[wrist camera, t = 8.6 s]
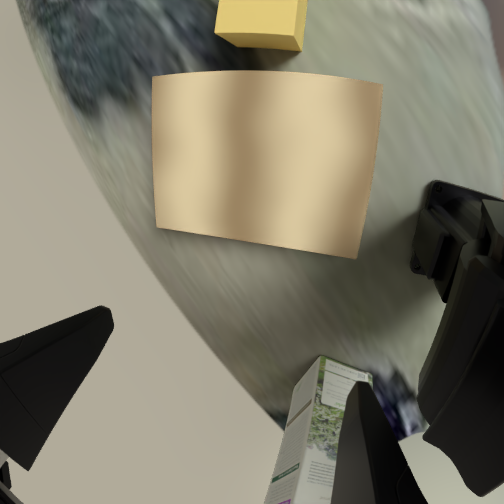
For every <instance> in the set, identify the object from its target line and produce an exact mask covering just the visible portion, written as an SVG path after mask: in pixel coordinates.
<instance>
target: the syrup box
mask: <svg viewBox="0 0 504 504" xmlns="http://www.w3.org/2000/svg"><path fill="white" fill-rule="evenodd" d="M356 381H365V382H368V383H369V384H370V385H371V387H372V386H373V385H372V374H371V373H368V372H365V371H362V370H359V369H357V368H354V367H351V366H348V365H346V364H343V363H340V362H338V361H335V360H333V359H330V358H328V357H325V356H322V355H321V356H319V357H318V359H317V360H316V361H315V362H314V363H313V365H312V366H311V367H310V368H309V370H308V371H307V372H306V373H305V374H304V376H303V377H302V378H301V379H300V381H299V382H298V383H297V384H296V385H295V387H294V390H293V395H292V400H291V405H290V410H289V415H288V419H287V424H286V428H285V432H284V436H283V439H282V443H281V447H280V451H279V454H278V458H277V462H276V465H275V469H274V472H273V475H272V478H271V482H270V485H269V488H268V492H267V495H266V498H265V502H264V504H330V503H331V496H332V490H333V482H334V475H335V467H336V458H337V449H338V440H339V435H340V430H341V425H342V420H343V415H344V410H345V405H346V400H347V396H348V394H349V392H350V391H351V389H352V387H353V386H354V384H355V382H356Z"/></svg>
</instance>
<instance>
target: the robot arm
mask: <svg viewBox="0 0 504 504" xmlns="http://www.w3.org/2000/svg"><path fill="white" fill-rule="evenodd" d="M437 185H440V190H439V191H435V188H436V186H437ZM412 247H413V249H414V252H413V255H412V259H411V262H410V268H411V271H412V272H413V273H415V274H421V275H426V276H427V278H428V279H430V280H433V281H434V283H435V286H436V288H437V290H438V292H439V294H440V297H441V299H442V301H443V302H444V303H447V304H446V307H445V310H444V313H443V316H442V319H441V322H440V325H439V327H438V330H437V333H436V336H435V338H434V341H433V343H432V346H431V348H430V351H429V353H428V356H427V358H426V360H425V363H424V365H423V367H422V370H421V372H420V374H419V384H418V394H417V402H418V405H419V408H420V411H421V413H422V414H423V416H424V418H425V419H426V421H427V422H428V424H429V425H430V426H429V428H428V429H427V431H426V432H425V433H424V435H423V440H424V441H426V442H428V443H430V444H432V445H433V446H436V447H437V448H439V449H440V450H441V451H443V452H444V453H445V454H446V455H447V456H448V457H449V458H450V459H451V460H452V462H453V463H454V465H455V466H456V468H457V470H458V471H459V473H460V475H461V477H462V478H463V481H464V483H465V485H466V486H467V487H468V488H469V489H470V490H471V491H472V492H473V493H475V494H476V495H477V496H479V497H483V496H485V495H487V494H488V493H490V492H491V491H493V490H494V489H496V488H497V487H499V486H500V485H501V484H503V483H504V200H503V199H500V198H497V197H494V196H491V195H488V194H485V193H482V192H479V191H475V190H472V189H469V188H465V187H462V186H459V185H455V184H451V183H448V182H444V181H440V180H434V181H433V182H432V183H431V185H430V189H429V194H428V198H427V203H426V207H425V209H423V210H422V211H421V213H420V217H419V221H418V225H417V229H416V233H415V236H414V240H413V244H412ZM416 264H420V265H419V267H417V268H415V267H414V266H415V265H416ZM113 329H114V322H113V318H112V313H111V310H110V309H109V308H107V307H105V306H97V307H95V308H92V309H90V310H87V311H84V312H82V313H79V314H77V315H74V316H72V317H69V318H66V319H64V320H61V321H59V322H56V323H53V324H51V325H48V326H46V327H43V328H40V329H38V330H35V331H33V332H30V333H28V334H25V335H22V336H20V337H17V338H14V339H12V340H9V341H6V342H3V343H0V504H23V503H22V502H21V501H20V500H19V499H18V498H17V497H16V496H15V495H14V494H13V493H12V492H11V491H10V488H11V480H10V474H9V466H8V462H7V461H6V460H7V458H8V457H10V458H11V459H13V460H14V461H15V462H16V463H18V464H19V465H20V466H22V467H23V468H24V469H26V470H27V471H29V470H30V468H31V467H32V465H33V463H34V461H35V459H36V457H37V456H38V454H39V452H40V450H41V448H42V447H43V445H44V443H45V441H46V440H47V438H48V437H49V435H50V433H51V431H52V429H53V428H54V426H55V425H56V423H57V421H58V419H59V418H60V416H61V415H62V413H63V411H64V410H65V408H66V407H67V405H68V403H69V402H70V400H71V399H72V397H73V395H74V394H75V392H76V391H77V389H78V388H79V386H80V384H81V383H82V382H83V380H84V378H85V377H86V376H87V374H88V372H89V371H90V370H91V368H92V366H93V365H94V363H95V362H96V360H97V359H98V357H99V355H100V353H101V351H102V350H103V348H104V346H105V344H106V342H107V340H108V338H109V336H110V335H111V333H112V331H113ZM330 504H428V502H427V501H426V499H425V497H424V496H423V494H422V492H421V490H420V488H419V487H418V485H417V482H416V480H415V478H414V476H413V474H412V472H411V469H410V467H409V466H408V463H407V461H406V459H405V456H404V454H403V452H402V450H401V448H400V446H399V443H398V441H397V439H396V437H395V435H394V433H393V431H392V428H391V426H390V424H389V422H388V420H387V418H386V416H385V414H384V412H383V410H382V408H381V406H380V404H379V401H378V399H377V397H376V395H375V393H374V391H373V389H372V387H371V385H370V384H369V383H368V382H365V381H356V382H355V384H354V386H353V387H352V389H351V391H350V392H349V394H348V396H347V400H346V405H345V410H344V415H343V420H342V425H341V430H340V435H339V440H338V449H337V458H336V467H335V475H334V482H333V490H332V496H331V503H330Z"/></svg>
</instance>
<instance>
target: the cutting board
mask: <svg viewBox="0 0 504 504" xmlns="http://www.w3.org/2000/svg"><path fill="white" fill-rule="evenodd" d="M382 92H383V84H378V83H373V82H367V81H362V80H356V79H349V78H343V77H336V76H328V75H319V74H309V73H297V72H282V71H208V72H193V73H181V74H171V75H163V76H155V77H153V80H152V160H153V182H154V199H155V213H156V225H157V227H158V228H165V229H171V230H178V231H184V232H191V233H197V234H204V235H210V236H216V237H223V238H229V239H235V240H242V241H248V242H254V243H260V244H267V245H273V246H279V247H285V248H291V249H297V250H303V251H309V252H315V253H322V254H328V255H333V256H339V257H345V258H351V259H357V255H358V250H359V246H360V241H361V237H362V232H363V227H364V222H365V217H366V212H367V207H368V201H369V196H370V190H371V184H372V178H373V171H374V165H375V158H376V150H377V142H378V134H379V125H380V115H381V105H382Z"/></svg>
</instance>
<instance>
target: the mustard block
mask: <svg viewBox="0 0 504 504" xmlns="http://www.w3.org/2000/svg"><path fill="white" fill-rule="evenodd" d="M307 1H308V0H219V5H218V11H217V18H216V25H215V32H214V33H215V34H217V35H219V36H221V37H222V38H224V39H225V40H227V41H229V42H230V43H232V44H234V45H235V46H237V47H253V48H270V49H282V50H292V51H300V52H302V45H303V37H304V28H305V19H306V10H307Z"/></svg>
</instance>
